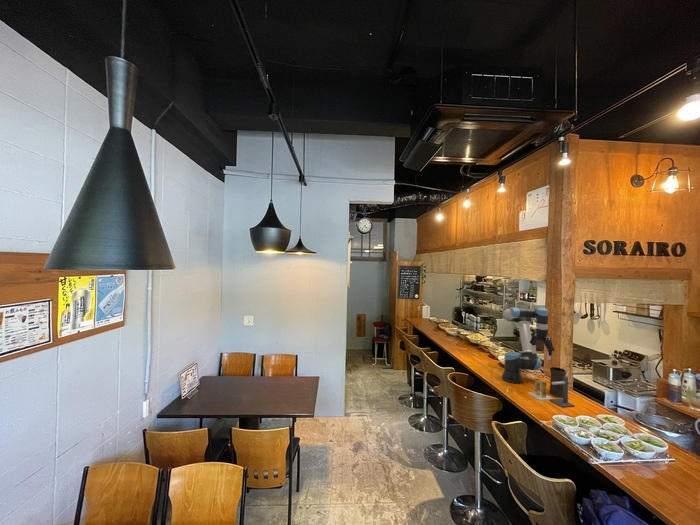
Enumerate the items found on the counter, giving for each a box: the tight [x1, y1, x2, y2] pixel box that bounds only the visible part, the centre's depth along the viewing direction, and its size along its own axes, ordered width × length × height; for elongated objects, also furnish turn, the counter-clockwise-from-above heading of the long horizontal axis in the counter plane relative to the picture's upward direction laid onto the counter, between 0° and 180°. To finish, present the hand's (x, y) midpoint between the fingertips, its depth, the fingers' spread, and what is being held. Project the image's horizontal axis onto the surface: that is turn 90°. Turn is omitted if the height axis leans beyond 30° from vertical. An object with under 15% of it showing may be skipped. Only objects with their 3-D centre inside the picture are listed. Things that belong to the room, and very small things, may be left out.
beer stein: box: [548, 366, 567, 399], centre depth 220 cm, size 15×11×20 cm
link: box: [534, 378, 547, 398], centre depth 213 cm, size 7×3×11 cm, turn 11°
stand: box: [549, 375, 575, 409], centre depth 203 cm, size 10×13×19 cm
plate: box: [527, 391, 554, 402], centre depth 213 cm, size 11×11×1 cm
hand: (541, 356), depth 217 cm, fingers open, 13 cm apart
